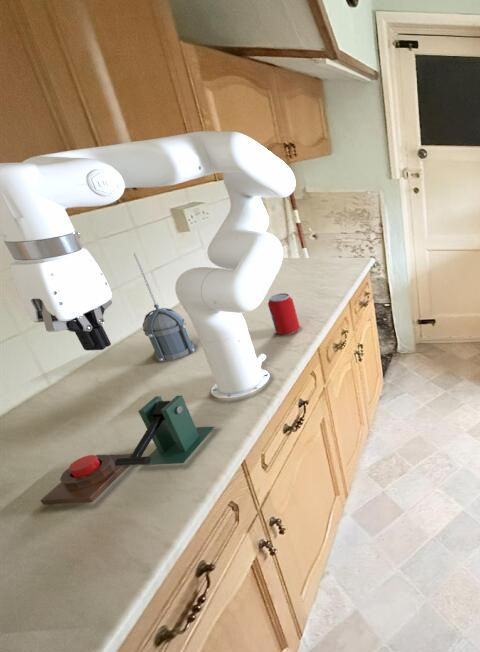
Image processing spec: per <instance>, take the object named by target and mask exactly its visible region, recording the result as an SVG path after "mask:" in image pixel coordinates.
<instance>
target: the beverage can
mask: <svg viewBox="0 0 480 652" xmlns="http://www.w3.org/2000/svg"><path fill="white" fill-rule="evenodd" d="M267 305H268V309H269V313H270V316H271V319H272V320H271V321H272V323H273V327H274V329H275V330H274V331H275V333H276V334H279V335H283V336H285V335H291V334H293V333H295V332H297V331H298V330H299V329H300V322H299V319H298V315H297V310H296V306H295V304H294V300H293V298H292V297H291V296H290V294H289V293H285V292H283V293H276V294H273V295H271V296H270V297H269V298H268V302H267Z"/></svg>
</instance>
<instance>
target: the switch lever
mask: <svg viewBox="0 0 480 652" xmlns="http://www.w3.org/2000/svg"><path fill="white" fill-rule="evenodd" d="M170 401H171V400H163V401H158V403H157V404H156V406H155V408H154V409H153V411H152V412H151V415H152V416H153V417H155V418H154V419H153V421H152V423H151V424H150V426H149V427H148V429H147V428H146V431H145V433H144V434H143V436H142V437H141V439H140V440H139V441H138V444H137V445H136V446H135V448H134V449H133V452H132V453H131V454H132V455H131V456H130V457H126V458H118V459H116V461H115V465H116V466H123V465H129V466H139V465H140V466H145V465H144V464H149V463H150V461H151V457H149V456H150V455H148V456H143V455H144V453H145V452H146V450H147V448H148V447H149V445H150V443H151V441H153V440H152V438H153V436H154V435H155V433H156V431H157V430H158V428H159V426H160V425H161V423H162V421H163V420H165V418H164V416H163V414H162V412H161V410H162V409H163V408H164V407H165V406H166V405H167V404H168V403H169V402H170Z"/></svg>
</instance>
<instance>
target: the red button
mask: <svg viewBox="0 0 480 652" xmlns="http://www.w3.org/2000/svg"><path fill="white" fill-rule="evenodd" d="M100 465H101V463H100V462H99V460H98V458H97V457H96V456H95V454H89V455H85V456H82V457H80V458H77V459H76V460H74V461H73V462H72V463H71V464H70V465H69V466H68V468H69V470H70V472H71V473H72V475H73V476H74V477H82V476H85V475H88V474H90V473H92V472H93V471H95V470H97V469H98V468H99V467H100Z"/></svg>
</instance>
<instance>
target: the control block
mask: <svg viewBox="0 0 480 652" xmlns="http://www.w3.org/2000/svg"><path fill="white" fill-rule="evenodd" d="M94 455H95V454H94ZM131 455H132V453H117V454H96V455H95V456H96V457H97V458H98V460H99V462H100V463H101V465H100V467H99V468H98V469H97V470H95V471H93V472H92V473H90V474H88V475H85V476H82V477H74V476H73V475H72V473H71V472H70V470H69V467H68V468H67V469H66V470H65V471H63V472H62V474H61V476H60V479H59V481H60V483H58V484H57V485H56V486H55V487H54V488H52V489H51V490H50V491H49V492H48V493H47V494H46V495H44V496H43V497H42V498H41V499H40V500H39V501H40V502H41V503H42V505H45V506H46V505H63V504H80V503H81V504H83V503H93V502H94V501H95V500H96V499H97V498H98V497H99V496H100V495H101V494H102V493H104V492H105V490H107V488H108V487H110V486H111V485H112V483H114V482H115V480H117V479H118V477H120V476H121V475H122V473H124V472H125V471H126V470H127V469H128V468H129V467H130V465H123V466H116V465H115V461H116V459H118V458H126V457H130V456H131Z"/></svg>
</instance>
